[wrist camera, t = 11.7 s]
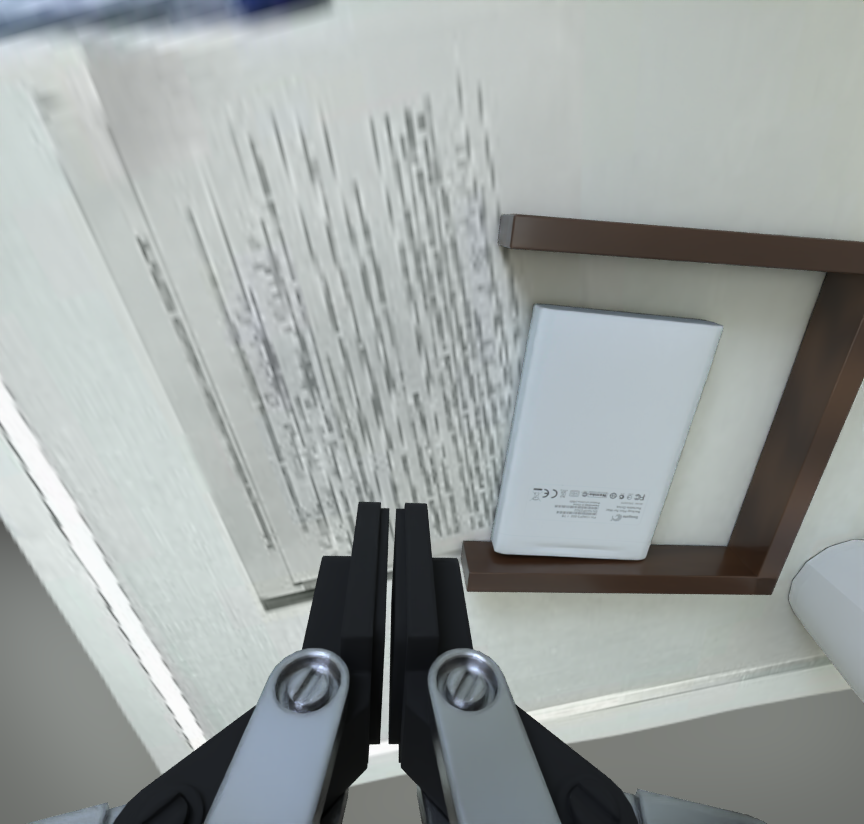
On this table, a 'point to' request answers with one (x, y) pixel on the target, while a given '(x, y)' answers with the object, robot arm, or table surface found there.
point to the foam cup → (835, 607)
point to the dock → (787, 440)
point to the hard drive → (598, 430)
